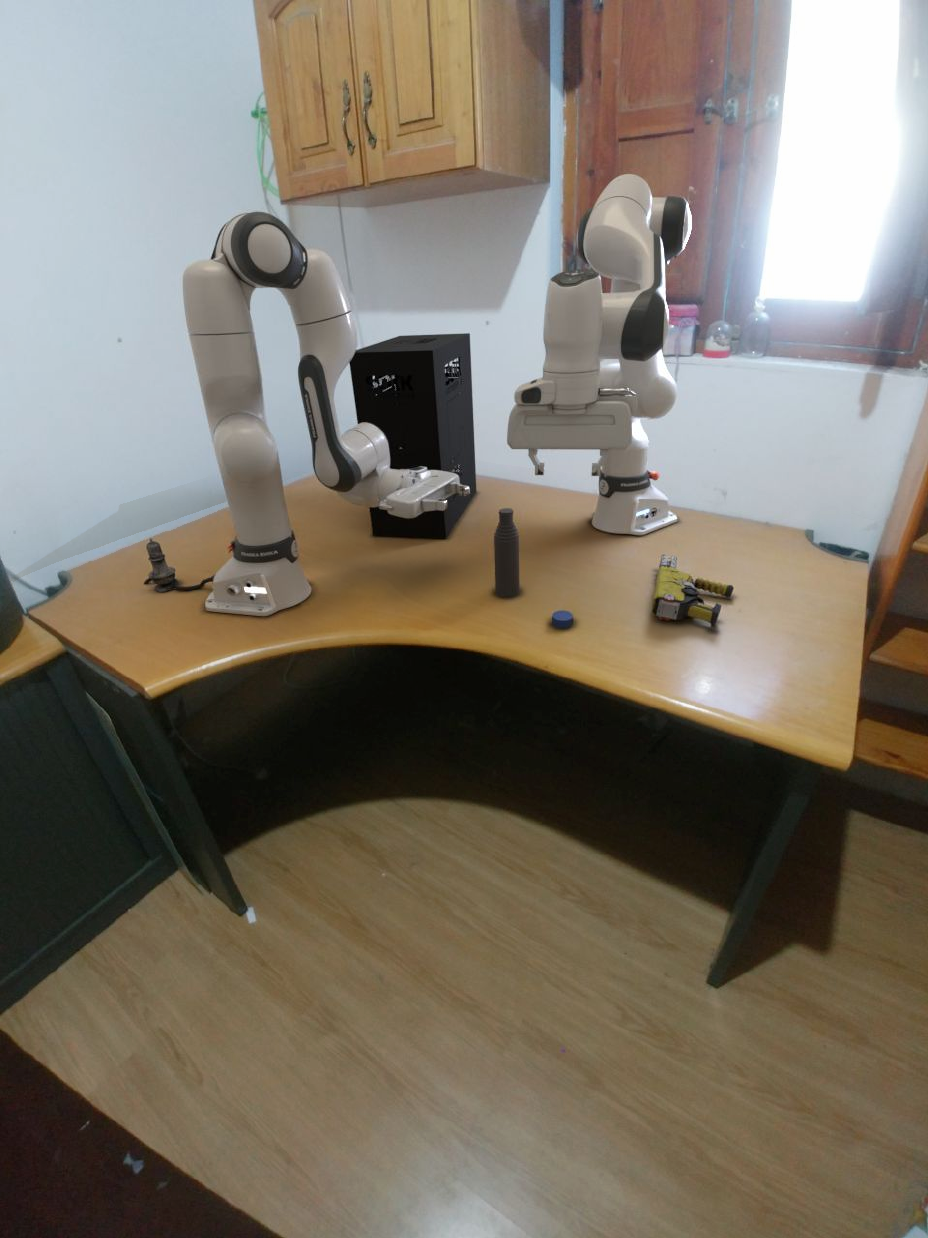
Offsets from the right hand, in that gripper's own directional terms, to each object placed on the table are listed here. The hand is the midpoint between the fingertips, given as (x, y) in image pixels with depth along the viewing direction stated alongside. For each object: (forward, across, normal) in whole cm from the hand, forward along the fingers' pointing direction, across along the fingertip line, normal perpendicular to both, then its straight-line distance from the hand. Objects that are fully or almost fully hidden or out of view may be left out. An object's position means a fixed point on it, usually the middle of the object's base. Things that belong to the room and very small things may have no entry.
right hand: (567, 474), depth 102 cm
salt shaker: (+29, +92, -5) cm, 96 cm away
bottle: (+29, +12, -12) cm, 34 cm away
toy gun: (+29, -25, -13) cm, 41 cm away
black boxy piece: (+29, +42, -58) cm, 78 cm away
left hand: (+10, +23, -15) cm, 29 cm away
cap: (+28, 0, 0) cm, 28 cm away
